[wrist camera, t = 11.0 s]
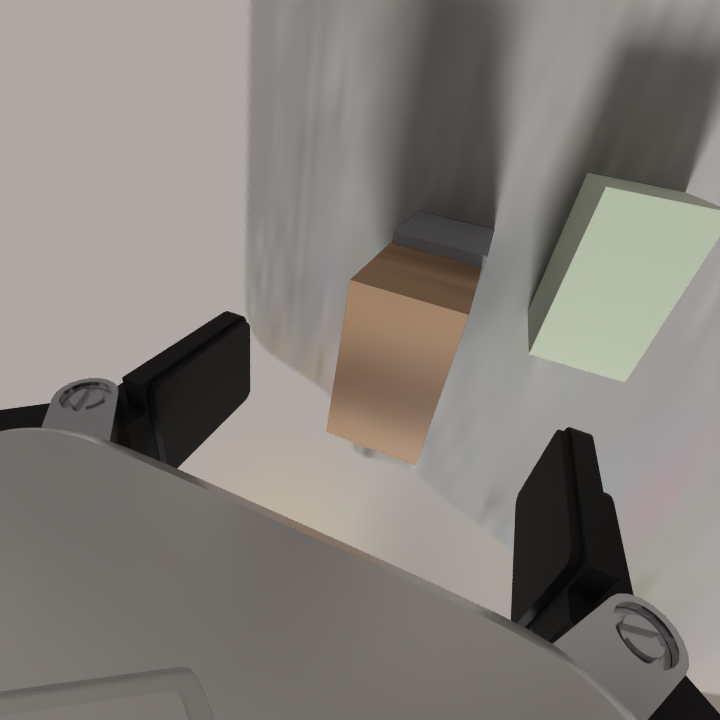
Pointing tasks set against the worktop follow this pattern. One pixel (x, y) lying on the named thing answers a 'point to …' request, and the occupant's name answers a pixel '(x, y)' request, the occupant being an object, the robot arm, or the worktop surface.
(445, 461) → the worktop surface
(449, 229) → the charcoal brick
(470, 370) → the worktop surface
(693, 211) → the sage brick
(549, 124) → the worktop surface
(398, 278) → the walnut brick
